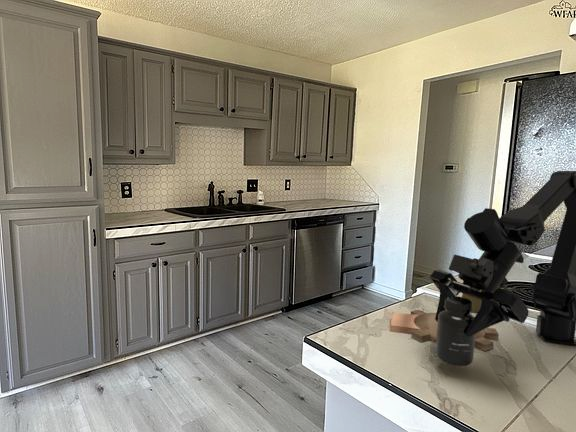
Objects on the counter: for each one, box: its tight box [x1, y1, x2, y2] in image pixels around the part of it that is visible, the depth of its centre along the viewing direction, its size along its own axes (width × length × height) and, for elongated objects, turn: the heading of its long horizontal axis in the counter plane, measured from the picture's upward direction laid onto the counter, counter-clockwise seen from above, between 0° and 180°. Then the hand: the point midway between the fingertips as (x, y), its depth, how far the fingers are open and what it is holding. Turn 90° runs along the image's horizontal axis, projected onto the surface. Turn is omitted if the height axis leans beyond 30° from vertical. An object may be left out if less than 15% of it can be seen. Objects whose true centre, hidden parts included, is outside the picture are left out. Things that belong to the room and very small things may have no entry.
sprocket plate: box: [389, 309, 500, 352], centre depth 91 cm, size 24×21×6 cm
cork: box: [461, 293, 482, 314], centre depth 105 cm, size 6×6×11 cm
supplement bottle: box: [435, 295, 475, 367], centre depth 72 cm, size 7×7×12 cm
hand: (451, 327), depth 71 cm, fingers closed on supplement bottle, 7 cm apart
